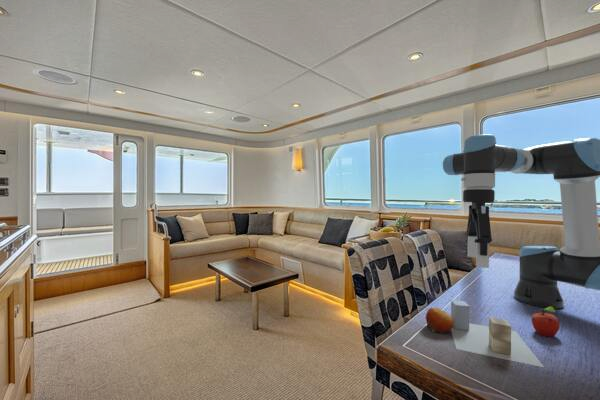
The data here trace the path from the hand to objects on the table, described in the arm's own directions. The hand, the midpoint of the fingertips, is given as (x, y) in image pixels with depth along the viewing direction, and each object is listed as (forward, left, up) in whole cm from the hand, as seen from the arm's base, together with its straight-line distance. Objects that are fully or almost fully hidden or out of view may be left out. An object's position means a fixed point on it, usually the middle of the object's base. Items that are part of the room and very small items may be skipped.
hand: (477, 261), depth 74 cm
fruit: (+9, -5, -25) cm, 27 cm away
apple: (-21, -15, -25) cm, 36 cm away
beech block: (-5, +1, -24) cm, 25 cm away
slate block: (+3, -9, -24) cm, 26 cm away
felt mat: (-4, -4, -24) cm, 25 cm away
